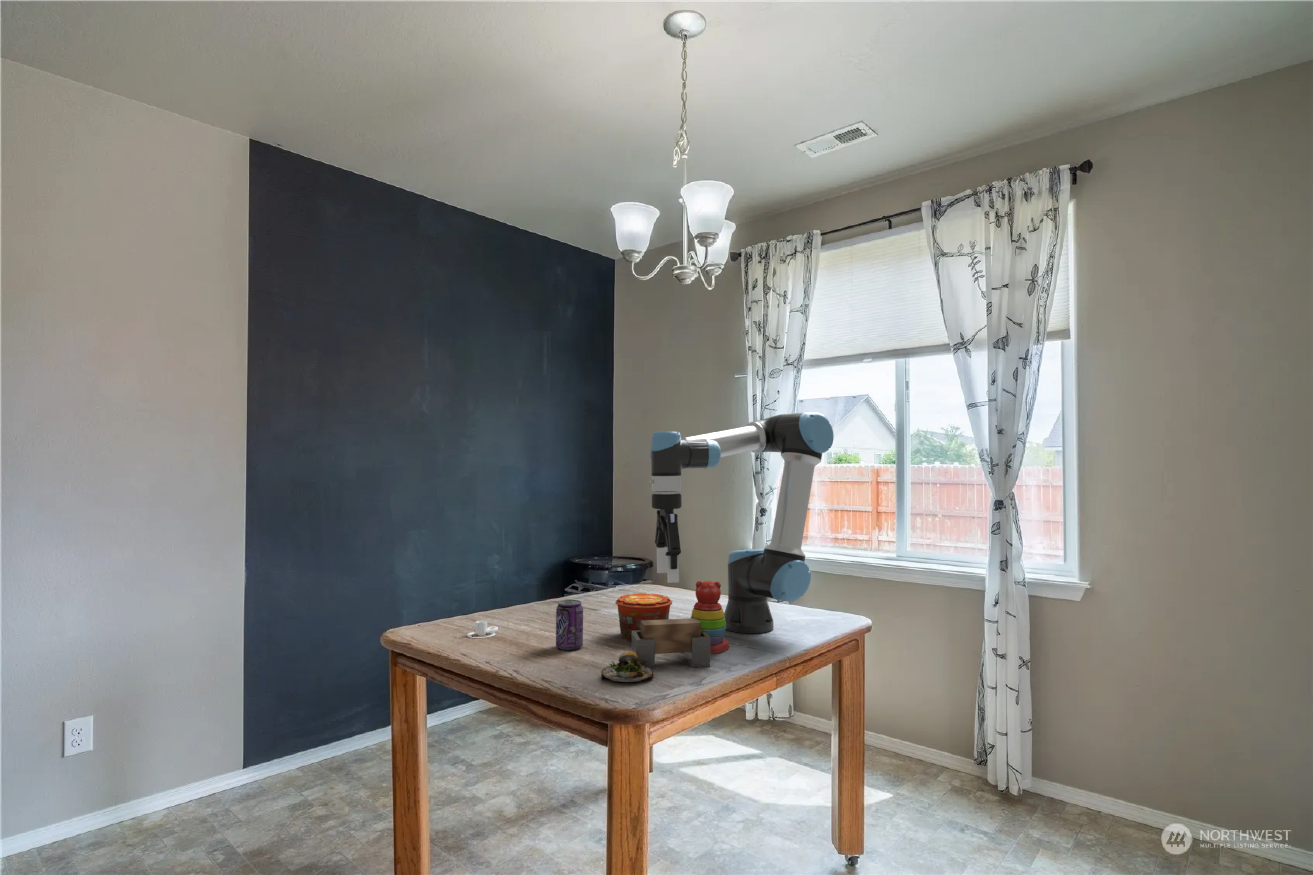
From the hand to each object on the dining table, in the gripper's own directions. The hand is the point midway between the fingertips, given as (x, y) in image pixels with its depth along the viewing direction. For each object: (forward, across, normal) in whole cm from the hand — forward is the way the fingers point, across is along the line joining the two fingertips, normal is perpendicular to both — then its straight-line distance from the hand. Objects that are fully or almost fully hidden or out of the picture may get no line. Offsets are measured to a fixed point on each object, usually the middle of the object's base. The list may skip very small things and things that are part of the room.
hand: (667, 577), depth 173 cm
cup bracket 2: (+20, +4, +6) cm, 21 cm away
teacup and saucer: (+20, -30, -45) cm, 58 cm away
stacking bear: (+21, -6, +12) cm, 25 cm away
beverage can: (+20, -14, -24) cm, 34 cm away
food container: (+20, -22, -3) cm, 30 cm away
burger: (+20, +14, -12) cm, 27 cm away
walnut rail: (+17, +4, 0) cm, 18 cm away
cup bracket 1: (+20, +4, -7) cm, 21 cm away
